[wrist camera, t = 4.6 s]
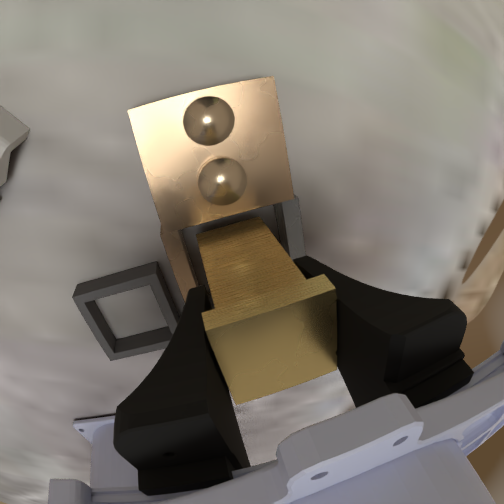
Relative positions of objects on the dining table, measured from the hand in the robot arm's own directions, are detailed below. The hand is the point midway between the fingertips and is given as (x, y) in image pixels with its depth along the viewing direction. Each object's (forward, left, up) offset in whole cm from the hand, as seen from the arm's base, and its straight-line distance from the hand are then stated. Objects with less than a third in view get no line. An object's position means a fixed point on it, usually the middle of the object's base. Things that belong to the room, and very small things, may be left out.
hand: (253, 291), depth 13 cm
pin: (0, 0, -3) cm, 3 cm away
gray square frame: (-2, +7, -4) cm, 8 cm away
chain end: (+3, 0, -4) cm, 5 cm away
